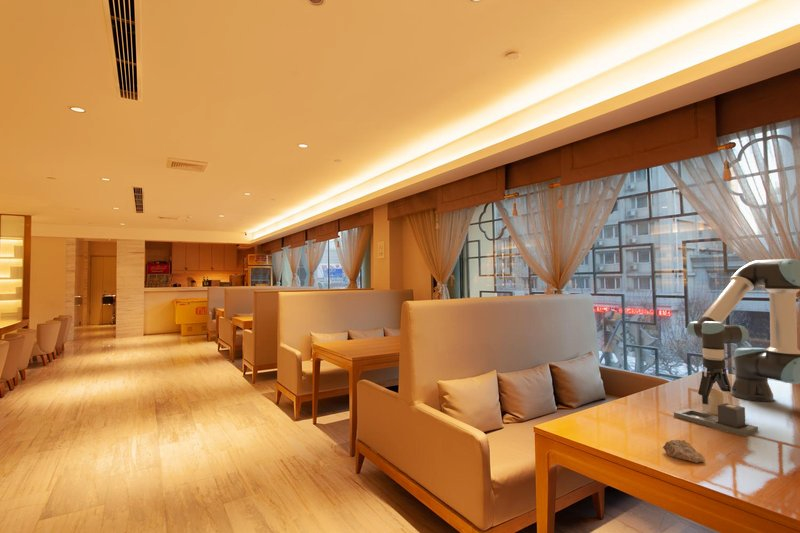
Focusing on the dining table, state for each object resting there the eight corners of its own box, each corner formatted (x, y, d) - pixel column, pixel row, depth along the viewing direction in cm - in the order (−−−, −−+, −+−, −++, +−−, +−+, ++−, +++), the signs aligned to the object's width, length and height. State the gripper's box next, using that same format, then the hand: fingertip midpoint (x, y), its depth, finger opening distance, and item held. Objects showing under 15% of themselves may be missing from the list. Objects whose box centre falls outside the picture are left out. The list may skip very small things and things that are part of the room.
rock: (659, 453, 134) (685, 460, 124) (659, 434, 135) (686, 440, 126) (681, 457, 135) (709, 465, 125) (681, 439, 136) (709, 445, 127)
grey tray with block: (687, 412, 171) (687, 392, 171) (758, 431, 150) (757, 408, 150) (674, 416, 167) (673, 395, 167) (744, 436, 145) (743, 412, 146)
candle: (727, 415, 167) (726, 391, 167) (711, 415, 168) (711, 390, 168) (719, 411, 172) (718, 387, 172) (704, 410, 173) (703, 387, 173)
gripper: (719, 353, 179) (721, 402, 179) (687, 359, 168) (688, 411, 168) (739, 356, 173) (741, 406, 172) (707, 363, 162) (709, 416, 161)
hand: (715, 409), depth 170 cm, fingers open, 13 cm apart
